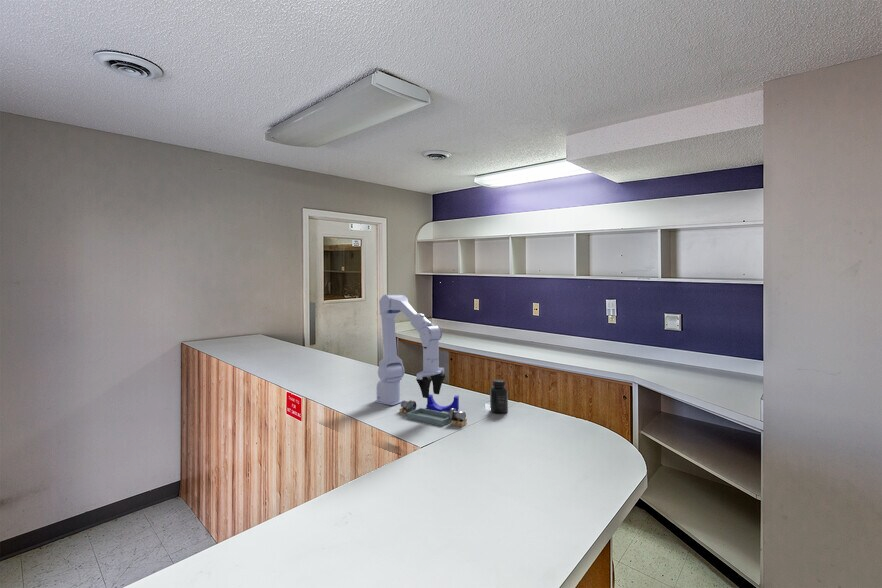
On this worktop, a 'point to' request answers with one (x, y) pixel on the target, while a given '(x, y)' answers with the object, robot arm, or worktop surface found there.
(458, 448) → the worktop surface
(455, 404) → the blue bearing cap
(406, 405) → the shaft
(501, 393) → the supplement bottle
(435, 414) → the grey-blue rectangular tray
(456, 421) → the shaft
